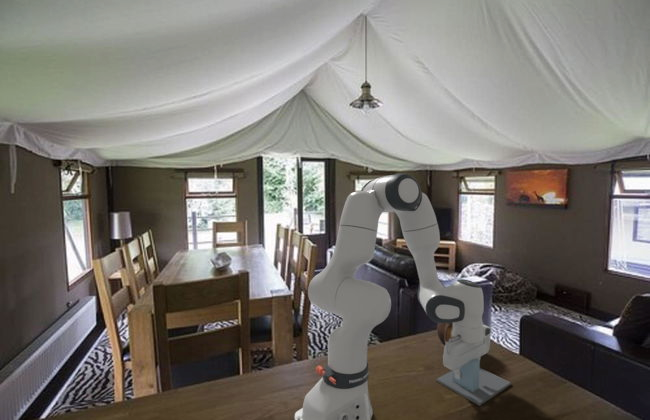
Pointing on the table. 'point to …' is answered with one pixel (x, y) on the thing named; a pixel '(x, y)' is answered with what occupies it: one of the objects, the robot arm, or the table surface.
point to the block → (469, 375)
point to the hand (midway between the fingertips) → (466, 373)
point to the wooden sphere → (445, 332)
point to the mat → (486, 390)
